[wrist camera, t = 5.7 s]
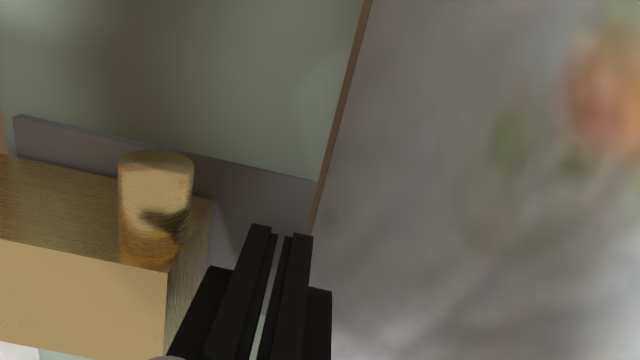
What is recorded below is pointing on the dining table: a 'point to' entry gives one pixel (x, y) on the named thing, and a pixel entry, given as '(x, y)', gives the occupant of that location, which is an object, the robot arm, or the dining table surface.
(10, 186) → the brass bolt
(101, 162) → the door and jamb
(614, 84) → the dining table surface
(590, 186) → the dining table surface
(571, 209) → the dining table surface
